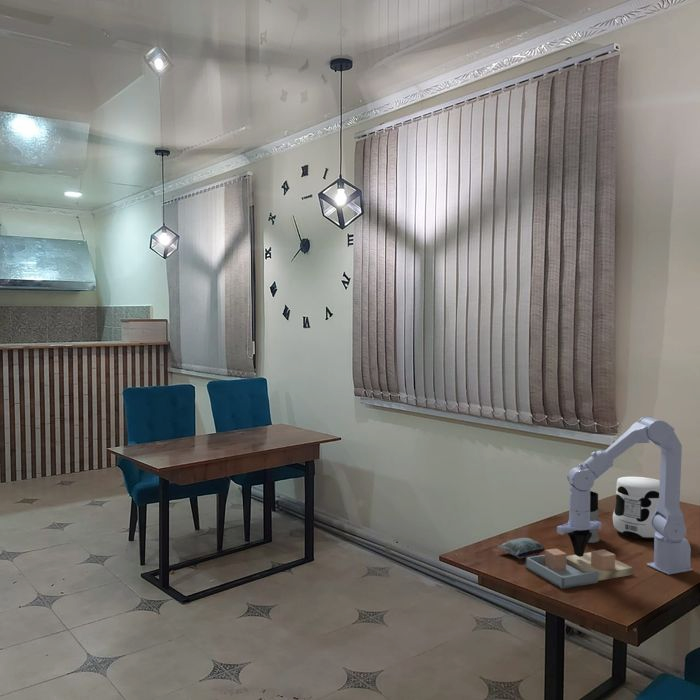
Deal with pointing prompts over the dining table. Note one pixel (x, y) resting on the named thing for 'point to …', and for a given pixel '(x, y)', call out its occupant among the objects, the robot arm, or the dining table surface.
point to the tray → (560, 573)
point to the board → (585, 567)
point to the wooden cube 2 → (603, 559)
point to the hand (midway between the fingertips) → (578, 555)
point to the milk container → (636, 506)
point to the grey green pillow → (522, 547)
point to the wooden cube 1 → (555, 559)
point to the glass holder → (593, 515)
